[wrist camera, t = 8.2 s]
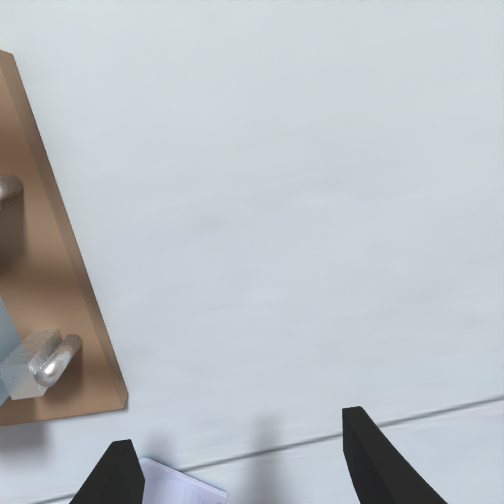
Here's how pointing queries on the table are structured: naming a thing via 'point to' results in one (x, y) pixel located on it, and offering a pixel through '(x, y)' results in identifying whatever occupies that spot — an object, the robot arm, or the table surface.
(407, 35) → the table surface
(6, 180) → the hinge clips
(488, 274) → the table surface
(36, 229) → the cabinet panel
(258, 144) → the table surface
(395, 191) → the table surface
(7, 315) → the pale blue square pillar
